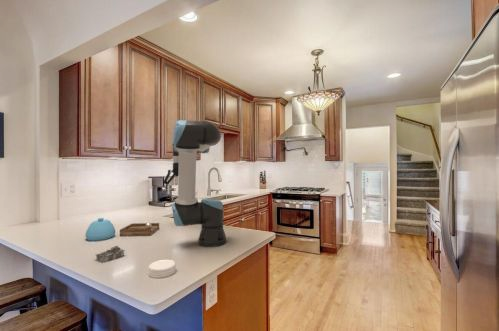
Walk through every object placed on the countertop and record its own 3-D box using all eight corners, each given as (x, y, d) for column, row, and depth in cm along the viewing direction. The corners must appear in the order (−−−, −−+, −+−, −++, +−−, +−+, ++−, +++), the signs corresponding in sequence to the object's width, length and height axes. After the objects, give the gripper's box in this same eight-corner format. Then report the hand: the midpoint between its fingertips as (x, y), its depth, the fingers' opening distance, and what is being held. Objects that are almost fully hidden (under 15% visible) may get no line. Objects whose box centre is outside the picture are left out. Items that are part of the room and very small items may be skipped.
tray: (150, 235, 147) (150, 229, 147) (119, 236, 146) (119, 229, 147) (159, 229, 163) (159, 223, 163) (131, 229, 162) (131, 223, 163)
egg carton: (118, 253, 118) (118, 244, 118) (126, 256, 114) (126, 247, 114) (94, 260, 110) (94, 251, 110) (101, 263, 105) (101, 254, 105)
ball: (150, 229, 153) (150, 223, 153) (144, 229, 153) (144, 223, 153) (152, 227, 157) (152, 222, 157) (146, 227, 157) (146, 222, 157)
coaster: (163, 280, 89) (163, 270, 89) (142, 276, 93) (142, 267, 93) (181, 269, 99) (181, 260, 99) (161, 266, 102) (161, 257, 102)
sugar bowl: (120, 234, 151) (120, 215, 151) (104, 242, 136) (103, 221, 136) (98, 234, 152) (97, 215, 152) (78, 241, 137) (78, 220, 138)
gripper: (198, 162, 169) (198, 193, 169) (162, 162, 169) (162, 193, 169) (195, 162, 162) (196, 194, 161) (158, 162, 162) (158, 194, 162)
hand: (178, 194), depth 165 cm, fingers open, 13 cm apart
